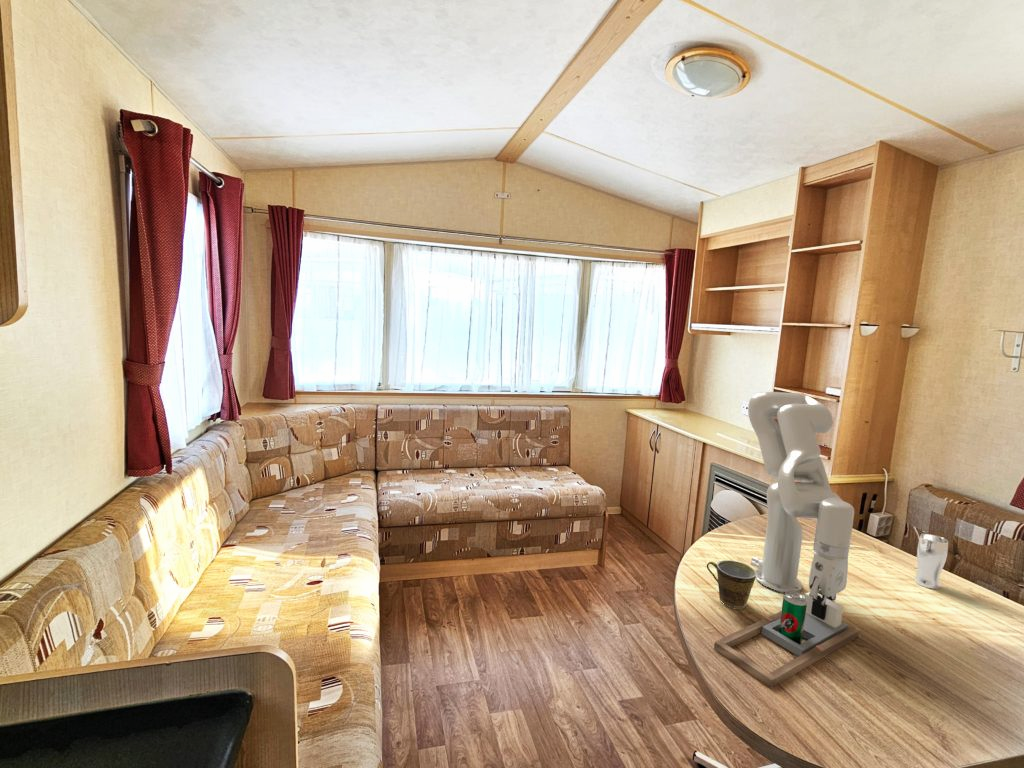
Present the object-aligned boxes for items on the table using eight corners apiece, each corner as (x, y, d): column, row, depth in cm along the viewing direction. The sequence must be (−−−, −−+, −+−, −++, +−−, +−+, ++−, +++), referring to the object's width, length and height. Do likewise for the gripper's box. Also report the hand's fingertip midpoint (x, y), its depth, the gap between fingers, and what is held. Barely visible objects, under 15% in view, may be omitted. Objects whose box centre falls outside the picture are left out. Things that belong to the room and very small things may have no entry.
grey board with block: (761, 633, 123) (764, 608, 122) (807, 611, 134) (810, 587, 133) (801, 658, 115) (805, 630, 114) (847, 632, 125) (850, 606, 124)
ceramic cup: (757, 603, 137) (761, 569, 136) (745, 617, 130) (749, 582, 129) (710, 584, 146) (714, 553, 145) (697, 597, 139) (700, 564, 137)
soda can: (804, 649, 118) (811, 603, 117) (782, 646, 119) (788, 600, 117) (796, 636, 123) (802, 591, 122) (775, 633, 124) (780, 589, 122)
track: (713, 648, 117) (714, 640, 117) (801, 607, 136) (802, 600, 136) (771, 688, 105) (772, 679, 105) (858, 636, 124) (859, 629, 124)
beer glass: (917, 586, 150) (924, 540, 148) (908, 576, 157) (916, 531, 155) (945, 592, 148) (953, 545, 146) (935, 581, 154) (943, 536, 152)
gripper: (829, 561, 118) (820, 632, 120) (863, 547, 126) (853, 614, 129) (798, 548, 124) (789, 615, 127) (832, 536, 133) (823, 599, 135)
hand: (821, 614), depth 128 cm, fingers closed on grey board with block, 3 cm apart
